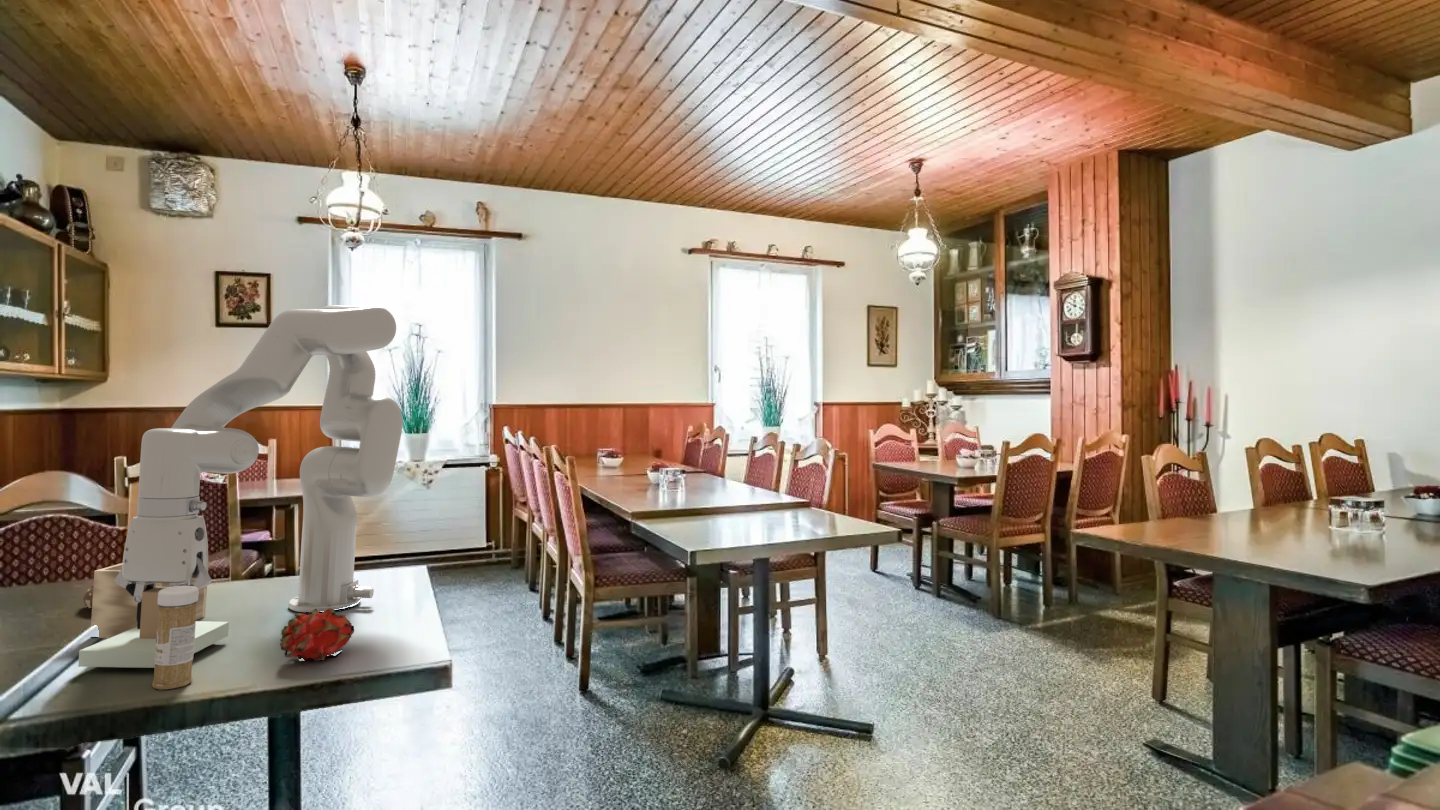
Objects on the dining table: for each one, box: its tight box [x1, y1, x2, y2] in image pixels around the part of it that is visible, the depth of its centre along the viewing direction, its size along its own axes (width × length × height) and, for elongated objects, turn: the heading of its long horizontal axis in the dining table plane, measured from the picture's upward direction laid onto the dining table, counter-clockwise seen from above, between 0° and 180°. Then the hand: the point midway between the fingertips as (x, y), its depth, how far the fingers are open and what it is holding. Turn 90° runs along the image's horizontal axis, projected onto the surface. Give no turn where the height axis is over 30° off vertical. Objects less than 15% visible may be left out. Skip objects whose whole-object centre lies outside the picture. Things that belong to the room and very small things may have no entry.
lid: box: [78, 587, 230, 669], centre depth 110 cm, size 12×15×9 cm
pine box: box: [90, 556, 210, 639], centre depth 124 cm, size 10×13×11 cm
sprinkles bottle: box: [151, 586, 199, 690], centre depth 100 cm, size 5×5×13 cm
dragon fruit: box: [279, 608, 355, 661], centre depth 113 cm, size 8×8×12 cm
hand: (160, 625), depth 110 cm, fingers closed on lid, 3 cm apart
